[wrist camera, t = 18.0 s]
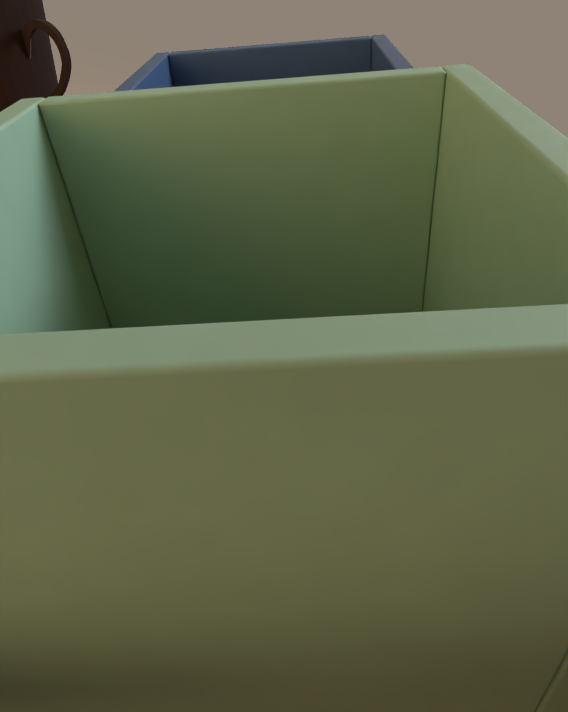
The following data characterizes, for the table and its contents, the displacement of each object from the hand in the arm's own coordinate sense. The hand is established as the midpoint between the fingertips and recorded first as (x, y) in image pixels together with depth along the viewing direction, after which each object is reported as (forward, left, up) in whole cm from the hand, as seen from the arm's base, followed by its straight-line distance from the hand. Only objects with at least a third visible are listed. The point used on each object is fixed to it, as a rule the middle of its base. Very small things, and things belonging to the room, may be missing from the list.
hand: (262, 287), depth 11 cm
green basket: (0, +3, -6) cm, 7 cm away
